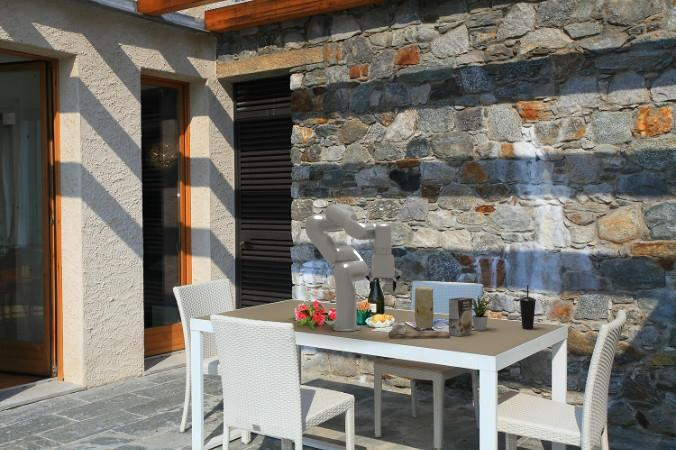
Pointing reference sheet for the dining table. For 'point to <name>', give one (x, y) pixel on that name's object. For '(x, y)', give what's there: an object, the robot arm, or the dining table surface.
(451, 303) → the coffee box
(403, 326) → the bead
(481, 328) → the house plant
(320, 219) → the robot arm
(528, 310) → the drinking cup
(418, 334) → the board
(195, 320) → the dining table surface
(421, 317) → the food model
